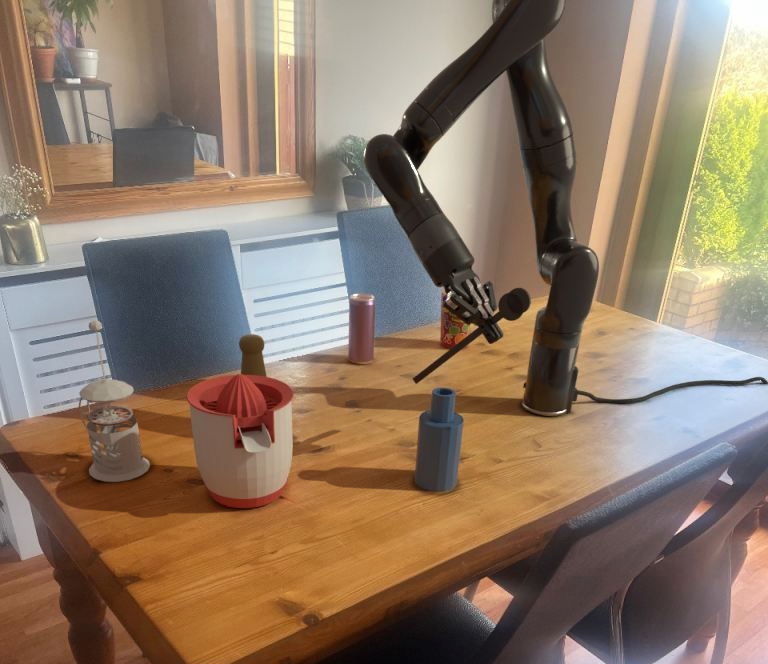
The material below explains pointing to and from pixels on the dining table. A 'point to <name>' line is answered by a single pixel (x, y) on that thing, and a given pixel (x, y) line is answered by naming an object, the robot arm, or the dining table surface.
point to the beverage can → (361, 328)
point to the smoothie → (451, 326)
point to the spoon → (509, 309)
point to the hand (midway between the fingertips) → (497, 340)
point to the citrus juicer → (242, 437)
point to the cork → (252, 355)
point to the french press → (112, 429)
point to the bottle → (439, 443)
